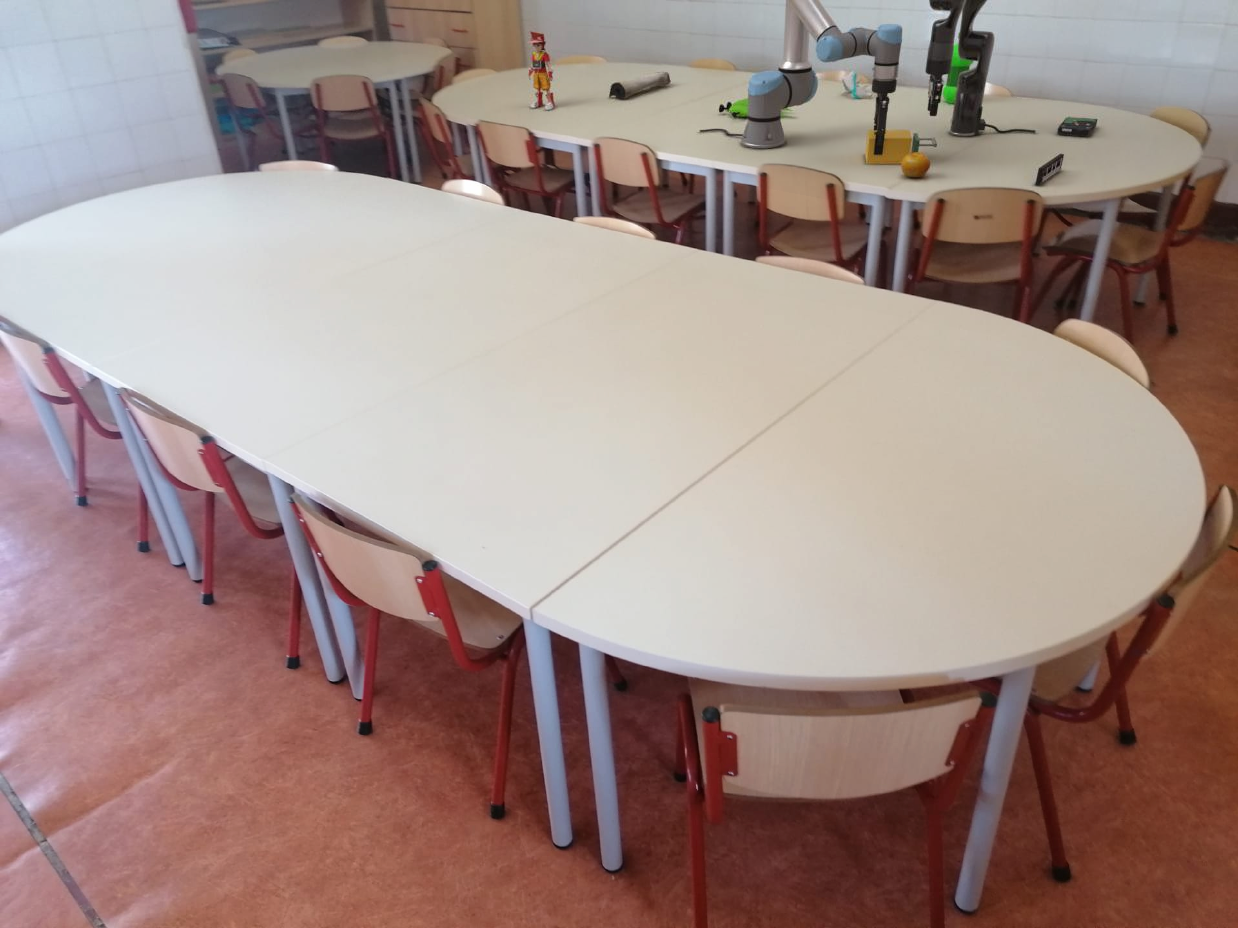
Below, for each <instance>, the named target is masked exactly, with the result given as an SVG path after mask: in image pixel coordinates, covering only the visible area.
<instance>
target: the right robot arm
mask: <svg viewBox="0 0 1238 928" xmlns="http://www.w3.org/2000/svg"><path fill="white" fill-rule="evenodd" d="M987 1H988V0H928V2H929V3H928V4H929V6H930V8H931V9H932V10H933V11H939V12H949V14H948V16H947V17H945V18H940V19H936V20H934V21H933V23H932V26H931V34H930V40H929V45H928V49H927V55H926V63H925V70H924V72H925V74H927V75H929V80H928V89H927V91H928V92H927V95H928V96H927V98H928V102H927V111H928V112H929V116H930V117H936V116H937V115H938V110H939V104H941V102H942V96H943V89H944V82H945V81H944V78H943V76H947V75H948V74H949V73H950V71H951V64H952V58H953V51H954V46H955V36H956V31H957V25H958V23H959V20H960V28H959V32H960V34H959V33H958V35H959V38H958V42H957V43H958V56H959V58H960V59H962V60H969V61H973V62H977V63H976V66H975V67H972V68H971V69H970V68H969V70H966V71H963V72H961V73H960V74H959V77H958V83H957V90H956V96H955V103H953V110H952V115H951V119H950V129H949V134H950V135H952V136H956V137H973V136H979V131H980V132H981V131H982V132H983V131H985V130H986V127H987V128H990V129H993V130H995V132H997V133H999V134H1007V133H1012V132H1019V133H1020V132H1022V133H1033V134H1036V132H1037V130H1035V129H1026V128H1025V129H1024V128H1011V129H1006V130H1001V129H999V128H998V127H997V126H995V125H993V124H988V123H987V122H986V120H985V118H982V115H983V109H984V107H983V102H984V96H985V90H986V83H987V79H988V74H989V70H990V66H991V65H990V64H991V59H992V55H993V52H994V47H995V39H996V38H995V34H994V32H993V31H989V30H988V31H987V30H974V23H975V19H976V17H977V15H978V14H979V12H980V11H981V9H982V8H983V7H984V6H985V4H986V3H987ZM960 16H961V18H960Z"/></svg>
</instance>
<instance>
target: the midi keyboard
mask: <svg viewBox="0 0 1238 928" xmlns="http://www.w3.org/2000/svg"><path fill="white" fill-rule="evenodd" d="M1064 157H1065V153H1059V154H1058V155H1056V156H1055V157H1052V159H1051V160H1049V161H1047V162H1045V164H1042V165H1041V166H1039V167H1038V169H1037V175H1036V179H1035V186H1040V185H1042V183H1044V182H1045V181H1047V180H1048V179H1049V178H1051V177H1052V176H1054V175H1055V174H1056V173H1058V172H1060V171H1061V170H1062V165H1063V161H1064Z"/></svg>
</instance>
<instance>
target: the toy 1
mask: <svg viewBox="0 0 1238 928" xmlns="http://www.w3.org/2000/svg"><path fill="white" fill-rule="evenodd" d="M529 33H530V35H531V36H528V37H527V38H528V39H529V40H528V41H527V43H529V44H530V43H531V44H532V48H533V50H534V51H533V52H532V55H531V58H530V59H531V63H530V66H528V74H527V75H528V76H527V77H528V79H529V80H531V75H532V74H533V84H532V85H533V86H532V87H533V88H534V89H535V90H536V92H534V95H535V97H536V100H535V101H533V102H531V105H530V108H531V109H535V108H538V107H542V106H544V101H543V100H544V99H543V95H544V92H546V94H545V97H546V99H547V103H546V104H545V106H544V110H546V111H549V110H553V109H554V107H555V106H556V105H555V99H554V92H551V91H550V90H551V86H552V84H551V82H552V81H553V80H554V77H553V73H554V71H555V70H554V69H552V68H551V63H550V61H551V59H550V58H551V57H550V54H549V53H548V52H547V50H546V48H545V46H546V44H547V41H545V35H544V33H543V32H542V33H539V32H535V31H529Z"/></svg>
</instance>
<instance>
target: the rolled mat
mask: <svg viewBox="0 0 1238 928" xmlns="http://www.w3.org/2000/svg"><path fill="white" fill-rule="evenodd" d="M671 83H672V81H671V77H670V74H669V72H668V71H658V72H654V73H649V74H645V75H640V76H637V77H633V78H628V79H623V80H620V81H616V82H613V83H612V84H611V85H610V89H609V95H608V97H609V98H611V97H616V99H620V100H622V101H623V100H626V99H627V98H629V97H630V96H632V95H635V94H636V93H638V92H640V91H643V90H644V89H647V88H650V87H655V86H658V87H659V86H661V87H665V86H669V85H670V84H671Z"/></svg>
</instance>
